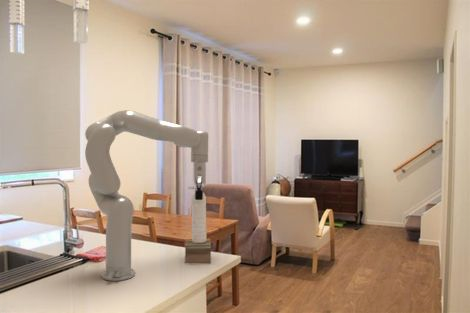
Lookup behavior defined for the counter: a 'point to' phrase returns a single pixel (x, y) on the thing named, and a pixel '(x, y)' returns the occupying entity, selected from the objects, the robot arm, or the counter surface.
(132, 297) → the counter surface
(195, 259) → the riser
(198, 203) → the water bottle
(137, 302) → the counter surface
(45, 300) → the counter surface
